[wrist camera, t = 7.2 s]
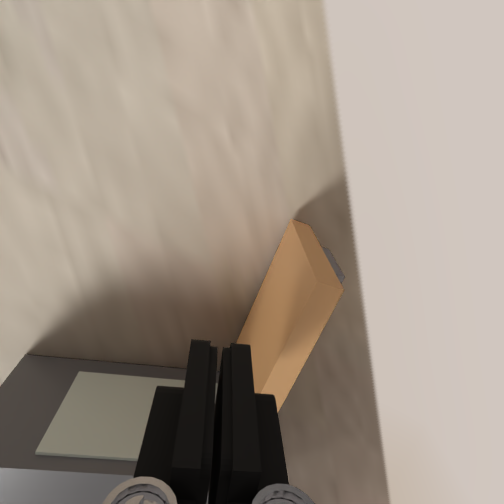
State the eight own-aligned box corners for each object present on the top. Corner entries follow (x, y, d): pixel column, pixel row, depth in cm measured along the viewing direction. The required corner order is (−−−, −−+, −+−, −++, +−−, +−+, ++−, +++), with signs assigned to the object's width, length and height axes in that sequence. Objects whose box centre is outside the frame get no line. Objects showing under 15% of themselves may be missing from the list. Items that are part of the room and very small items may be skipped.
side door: (222, 369, 19) (217, 472, 14) (288, 218, 16) (314, 280, 11) (251, 376, 20) (257, 480, 15) (322, 229, 17) (362, 296, 11)
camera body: (219, 495, 24) (214, 633, 18) (10, 483, 23) (-71, 627, 17) (241, 371, 20) (244, 495, 14) (-11, 348, 19) (-128, 474, 13)
